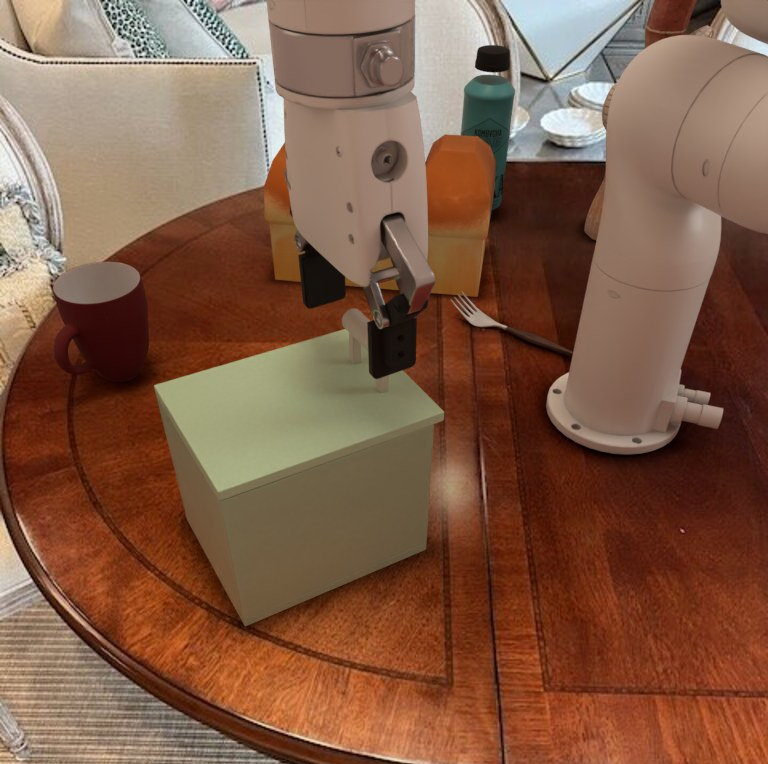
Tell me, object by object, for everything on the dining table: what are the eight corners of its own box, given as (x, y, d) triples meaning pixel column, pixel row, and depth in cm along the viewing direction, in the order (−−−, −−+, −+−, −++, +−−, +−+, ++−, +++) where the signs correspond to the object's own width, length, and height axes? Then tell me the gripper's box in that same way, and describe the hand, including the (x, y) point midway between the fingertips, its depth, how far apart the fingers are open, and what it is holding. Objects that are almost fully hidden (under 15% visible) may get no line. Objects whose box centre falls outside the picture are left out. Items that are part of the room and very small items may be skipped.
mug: (114, 417, 74) (86, 326, 67) (47, 397, 77) (13, 306, 70) (177, 360, 81) (158, 271, 74) (114, 342, 84) (89, 254, 76)
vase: (577, 241, 101) (631, -40, 79) (580, 216, 106) (631, -54, 84) (662, 250, 99) (740, -35, 78) (660, 224, 104) (733, -49, 83)
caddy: (352, 459, 70) (348, 336, 61) (426, 549, 63) (434, 424, 54) (186, 519, 65) (155, 394, 56) (244, 627, 57) (219, 502, 48)
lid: (357, 333, 62) (356, 276, 58) (444, 420, 54) (448, 360, 50) (155, 394, 56) (140, 334, 52) (219, 501, 48) (207, 440, 45)
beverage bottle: (446, 206, 108) (456, 42, 94) (490, 200, 109) (507, 37, 95) (463, 226, 103) (477, 57, 89) (509, 220, 105) (530, 52, 91)
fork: (574, 367, 81) (577, 351, 79) (448, 316, 88) (449, 300, 86) (586, 356, 82) (590, 340, 81) (461, 306, 89) (462, 290, 88)
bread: (488, 248, 99) (501, 125, 89) (481, 298, 90) (494, 168, 80) (296, 233, 102) (286, 111, 91) (270, 280, 93) (257, 152, 83)
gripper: (497, 89, 37) (473, 383, 49) (332, 8, 48) (347, 266, 60) (358, 120, 35) (369, 421, 47) (217, 27, 45) (256, 293, 58)
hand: (357, 334), depth 53 cm, fingers open, 9 cm apart
